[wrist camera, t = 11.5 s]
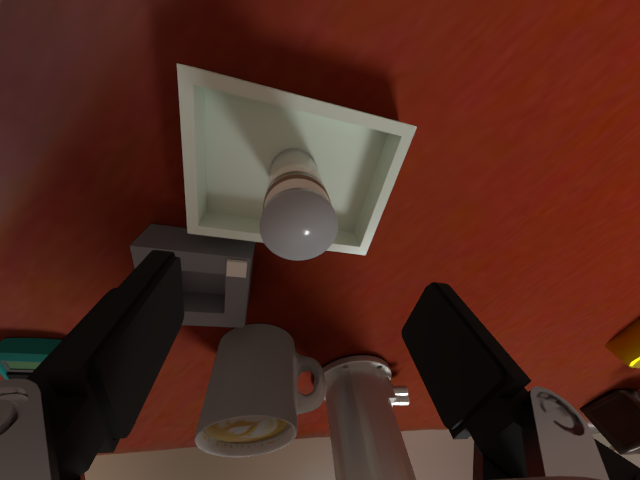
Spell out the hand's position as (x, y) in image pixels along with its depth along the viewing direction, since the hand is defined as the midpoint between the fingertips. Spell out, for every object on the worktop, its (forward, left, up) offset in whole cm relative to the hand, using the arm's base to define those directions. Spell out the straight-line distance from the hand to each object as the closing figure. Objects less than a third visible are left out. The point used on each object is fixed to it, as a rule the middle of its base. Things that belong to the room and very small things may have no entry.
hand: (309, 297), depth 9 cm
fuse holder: (+7, +11, -14) cm, 19 cm away
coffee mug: (-1, +24, -14) cm, 28 cm away
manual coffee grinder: (-85, +41, -14) cm, 95 cm away
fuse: (0, -1, -13) cm, 13 cm away
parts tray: (0, -1, -14) cm, 14 cm away
